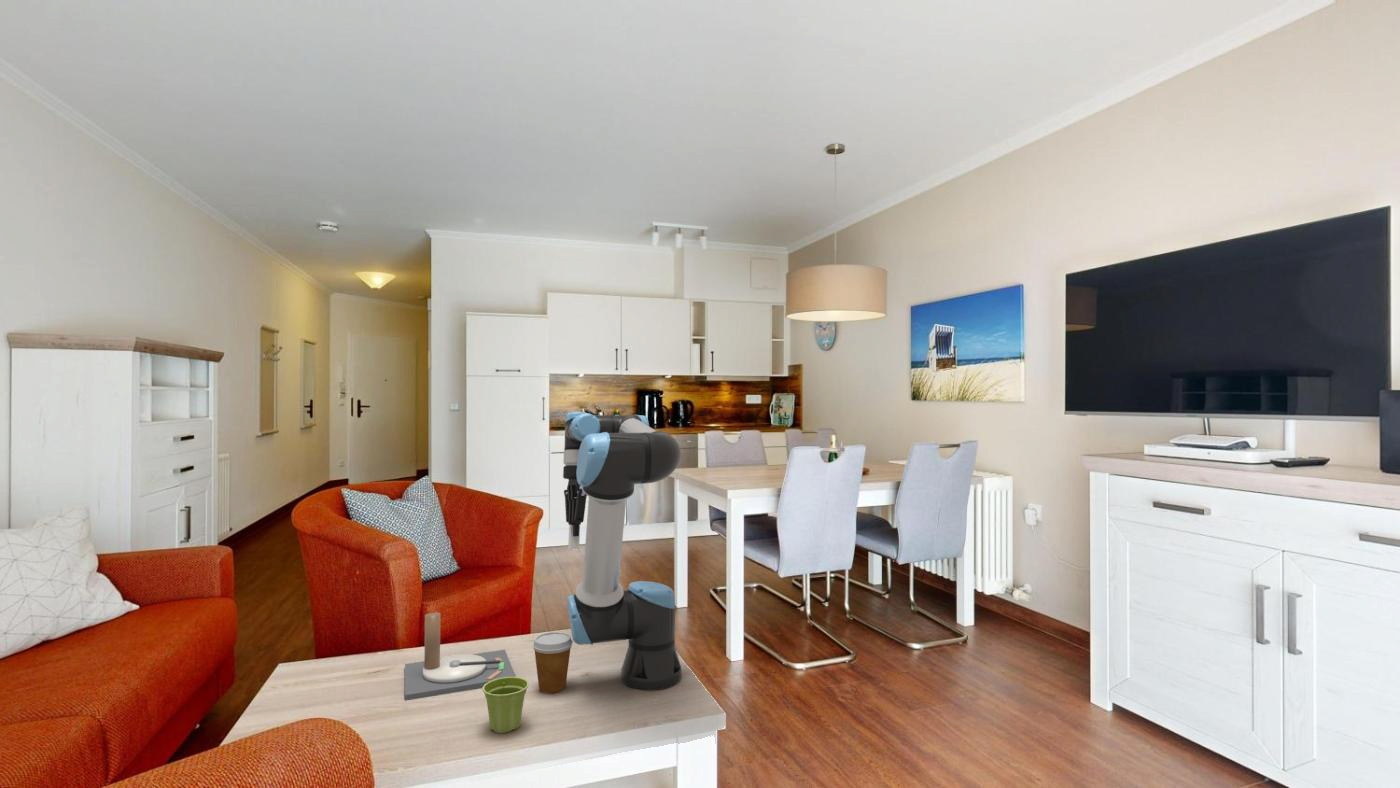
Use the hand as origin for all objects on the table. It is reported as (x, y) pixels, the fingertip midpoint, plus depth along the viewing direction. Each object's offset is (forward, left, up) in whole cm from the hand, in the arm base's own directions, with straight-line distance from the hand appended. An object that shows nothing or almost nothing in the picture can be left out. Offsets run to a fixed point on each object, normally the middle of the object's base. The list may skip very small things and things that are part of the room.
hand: (573, 547), depth 187 cm
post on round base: (-10, +32, -26) cm, 42 cm away
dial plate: (-9, +32, -28) cm, 43 cm away
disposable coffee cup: (-26, +11, -28) cm, 40 cm away
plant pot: (-41, +24, -28) cm, 55 cm away
